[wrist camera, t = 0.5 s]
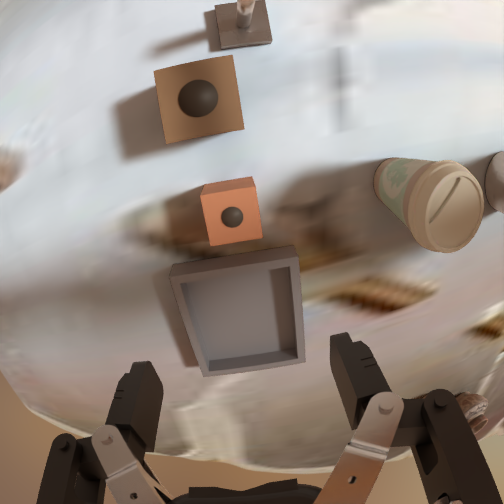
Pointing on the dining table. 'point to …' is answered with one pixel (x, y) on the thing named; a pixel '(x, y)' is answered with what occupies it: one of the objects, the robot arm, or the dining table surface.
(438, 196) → the coffee cup
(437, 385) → the dining table surface
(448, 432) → the robot arm
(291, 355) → the tray
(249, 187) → the block
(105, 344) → the dining table surface
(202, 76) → the block
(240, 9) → the pin gauge stand
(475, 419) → the pottery
